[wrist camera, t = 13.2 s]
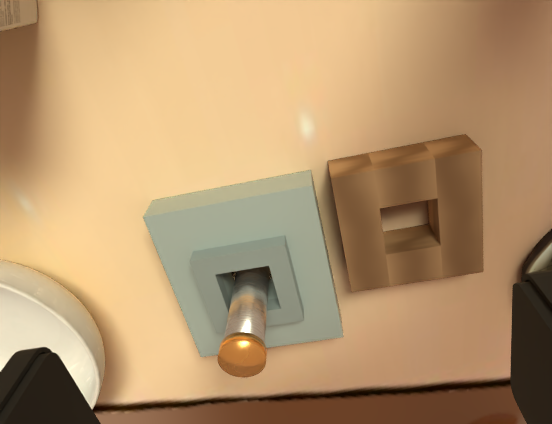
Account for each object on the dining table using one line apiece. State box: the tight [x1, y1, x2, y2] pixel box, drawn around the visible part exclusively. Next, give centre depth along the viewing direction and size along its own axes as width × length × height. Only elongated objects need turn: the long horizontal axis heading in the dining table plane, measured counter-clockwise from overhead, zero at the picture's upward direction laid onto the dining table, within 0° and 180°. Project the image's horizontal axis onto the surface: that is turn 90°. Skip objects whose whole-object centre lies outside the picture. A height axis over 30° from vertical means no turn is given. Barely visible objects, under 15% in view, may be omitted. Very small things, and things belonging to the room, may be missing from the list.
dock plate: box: [143, 170, 344, 357], centre depth 41 cm, size 14×16×4 cm
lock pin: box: [218, 266, 270, 377], centre depth 37 cm, size 3×3×12 cm
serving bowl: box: [0, 260, 105, 410], centre depth 44 cm, size 21×21×7 cm
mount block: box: [328, 134, 483, 292], centre depth 38 cm, size 11×11×4 cm
